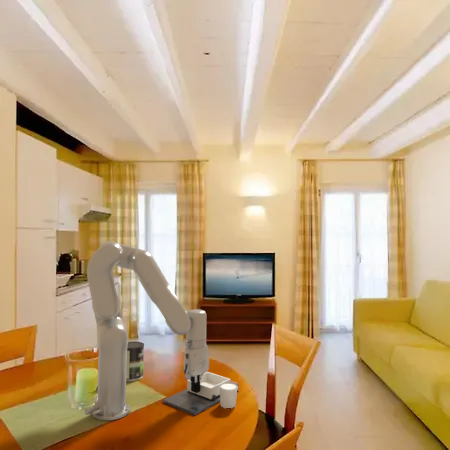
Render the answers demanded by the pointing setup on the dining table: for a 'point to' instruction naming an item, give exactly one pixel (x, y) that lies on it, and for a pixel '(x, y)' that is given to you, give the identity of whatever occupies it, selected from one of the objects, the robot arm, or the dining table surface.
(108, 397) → the robot arm
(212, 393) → the white tray on base
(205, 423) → the dining table surface
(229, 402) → the white tapered cylinder
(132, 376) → the coffee can
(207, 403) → the dark grey base plate
